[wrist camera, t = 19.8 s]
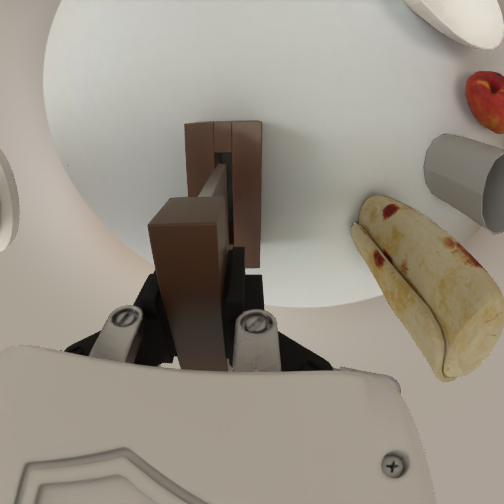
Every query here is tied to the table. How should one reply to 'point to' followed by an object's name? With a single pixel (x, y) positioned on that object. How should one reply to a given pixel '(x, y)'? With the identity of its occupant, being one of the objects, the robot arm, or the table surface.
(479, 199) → the cup
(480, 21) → the bowl
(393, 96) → the table surface
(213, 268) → the knife
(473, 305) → the food model
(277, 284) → the table surface
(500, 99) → the fruit
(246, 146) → the knife block
